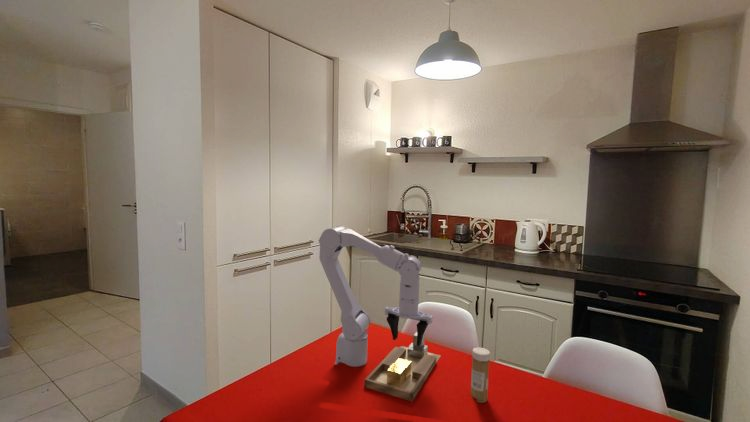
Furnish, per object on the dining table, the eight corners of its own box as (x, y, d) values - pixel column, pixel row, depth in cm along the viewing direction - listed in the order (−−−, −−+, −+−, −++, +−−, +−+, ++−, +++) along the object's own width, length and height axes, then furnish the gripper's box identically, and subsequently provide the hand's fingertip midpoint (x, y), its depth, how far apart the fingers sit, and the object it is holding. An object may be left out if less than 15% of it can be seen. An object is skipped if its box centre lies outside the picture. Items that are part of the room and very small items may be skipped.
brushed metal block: (407, 356, 117) (408, 336, 116) (411, 349, 121) (412, 331, 121) (423, 359, 115) (424, 340, 114) (427, 353, 119) (428, 334, 119)
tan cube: (393, 377, 104) (393, 364, 103) (398, 370, 107) (398, 358, 107) (405, 380, 102) (406, 367, 102) (410, 374, 106) (411, 361, 105)
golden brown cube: (386, 383, 100) (387, 370, 100) (392, 376, 104) (392, 363, 104) (399, 387, 99) (400, 373, 98) (405, 380, 102) (405, 367, 102)
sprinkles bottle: (490, 400, 96) (493, 352, 95) (479, 405, 93) (482, 356, 92) (477, 391, 100) (480, 345, 99) (466, 396, 97) (468, 349, 96)
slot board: (364, 389, 99) (364, 379, 98) (401, 348, 124) (401, 340, 124) (412, 404, 93) (412, 393, 92) (440, 358, 118) (441, 349, 118)
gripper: (381, 297, 106) (379, 341, 107) (428, 306, 100) (426, 352, 101) (390, 290, 112) (388, 332, 113) (435, 298, 106) (433, 342, 107)
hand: (406, 341), depth 107 cm, fingers open, 7 cm apart
